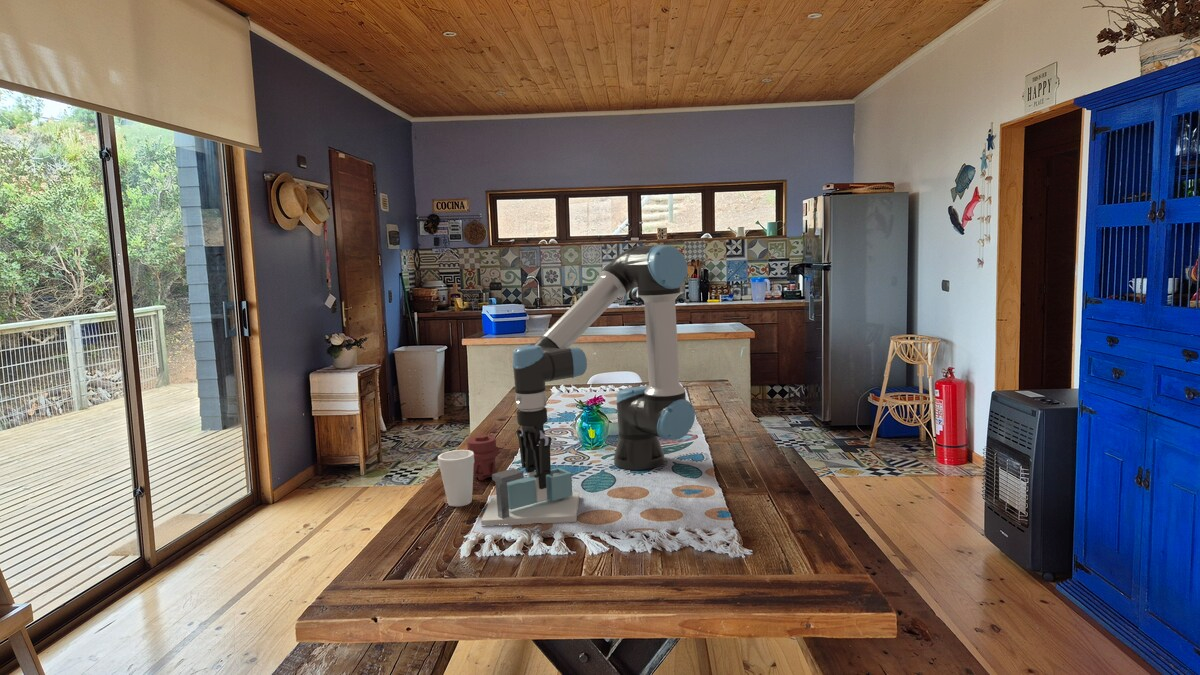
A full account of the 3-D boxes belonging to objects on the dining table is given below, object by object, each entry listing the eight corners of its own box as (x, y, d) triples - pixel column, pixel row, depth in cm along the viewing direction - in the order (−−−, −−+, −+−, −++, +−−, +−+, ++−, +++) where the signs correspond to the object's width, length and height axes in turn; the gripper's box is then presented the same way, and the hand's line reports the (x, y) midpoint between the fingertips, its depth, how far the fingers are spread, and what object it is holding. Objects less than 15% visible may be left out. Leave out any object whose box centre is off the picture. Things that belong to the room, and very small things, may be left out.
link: (560, 489, 191) (559, 467, 191) (572, 495, 186) (571, 472, 186) (502, 504, 182) (501, 481, 181) (513, 511, 177) (512, 487, 176)
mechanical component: (505, 471, 218) (494, 482, 208) (474, 471, 220) (461, 482, 210) (502, 431, 216) (491, 440, 206) (471, 431, 218) (458, 440, 208)
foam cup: (447, 511, 187) (442, 462, 186) (437, 500, 195) (433, 454, 194) (482, 503, 192) (478, 455, 190) (471, 493, 200) (467, 447, 198)
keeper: (517, 514, 182) (513, 468, 181) (526, 518, 179) (523, 471, 177) (495, 521, 178) (491, 474, 177) (505, 526, 175) (501, 478, 173)
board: (579, 497, 192) (577, 468, 191) (576, 521, 175) (574, 489, 174) (492, 501, 192) (490, 472, 191) (481, 526, 176) (478, 494, 175)
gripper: (503, 405, 185) (509, 494, 188) (534, 415, 172) (541, 510, 175) (528, 400, 190) (534, 487, 193) (561, 410, 177) (567, 503, 180)
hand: (538, 498), depth 184 cm, fingers closed on link, 3 cm apart
